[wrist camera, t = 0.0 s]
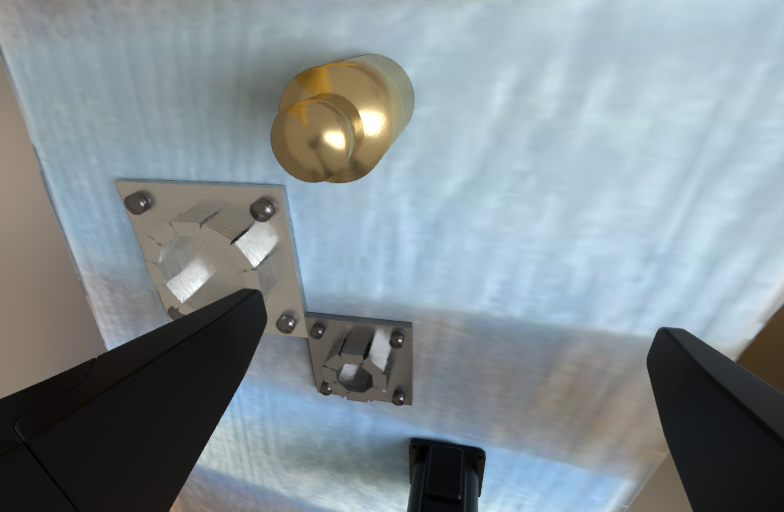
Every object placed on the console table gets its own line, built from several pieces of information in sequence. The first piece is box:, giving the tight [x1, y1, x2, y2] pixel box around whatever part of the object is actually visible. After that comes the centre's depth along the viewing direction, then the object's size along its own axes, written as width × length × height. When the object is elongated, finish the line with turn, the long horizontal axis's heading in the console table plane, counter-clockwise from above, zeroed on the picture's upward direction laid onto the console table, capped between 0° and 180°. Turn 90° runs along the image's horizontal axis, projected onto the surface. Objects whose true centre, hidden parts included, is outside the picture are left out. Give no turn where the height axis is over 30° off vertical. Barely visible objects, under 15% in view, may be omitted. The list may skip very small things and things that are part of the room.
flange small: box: [304, 312, 413, 406], centre depth 30 cm, size 8×8×2 cm
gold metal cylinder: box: [271, 54, 414, 183], centre depth 17 cm, size 4×4×10 cm
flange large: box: [115, 179, 308, 338], centre depth 28 cm, size 12×12×2 cm
